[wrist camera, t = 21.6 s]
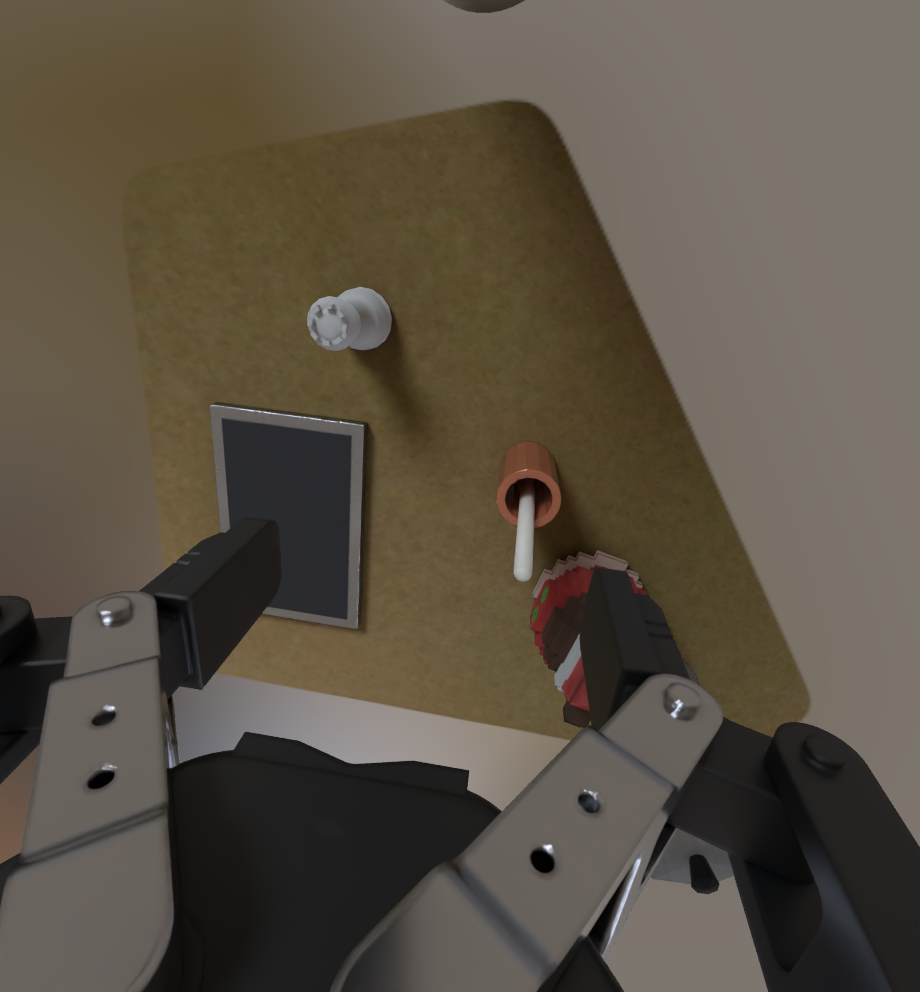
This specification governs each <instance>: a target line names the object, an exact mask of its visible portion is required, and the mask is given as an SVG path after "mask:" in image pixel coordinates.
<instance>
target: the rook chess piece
mask: <svg viewBox="0 0 920 992" xmlns="http://www.w3.org/2000/svg"><path fill="white" fill-rule="evenodd" d="M391 322H392V317H391V313H390V309H389V306H388V304H387V303H386V302H385V300H384V299H383V297H382V296H381V295H379V294H378V293H376V292H375V291H373V290H372V289H368V288H362V287H358V288H354V289H350V290H347V291H345V292H343V293H342V294H341V295H340V296H339V297H338V298H336V297H331V296H328V297H324V298H321V299H319V300H318V301H316V302H315V303H314V304H313V305H312V307H311V309H310V311H309V313H308V320H307V326H308V328H309V331H310V335H311V336H312V337H313V339H314V340H315V341H316V343H317V344H319V345H320V346H322V347H323V348H325V349H327V350H333V351H338V350H342V349H345V348H346V347H348V346H349V347H350V348H353V349H358V350H368V349H372V348H376V347H378V346H379V345H380V344H382V343H383V342H384V341H385V340H386V338H387V336H388V334H389V333H390V331H391Z"/></svg>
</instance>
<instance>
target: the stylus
mask: <svg viewBox="0 0 920 992" xmlns="http://www.w3.org/2000/svg"><path fill="white" fill-rule="evenodd" d="M535 485H536V479H535V478H523V479H521V489H520V501H519V514H518V526H517V538H516V551H515V563H514V575H515V577H516V579H517V580H519V581H527V580H529V579H530V578H531V576H532V567H533V539H534V512H535Z"/></svg>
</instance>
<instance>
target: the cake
mask: <svg viewBox="0 0 920 992" xmlns="http://www.w3.org/2000/svg"><path fill="white" fill-rule="evenodd" d="M627 566H628V563H627V561H625V560H623V559H620V558H617V557H614V556H612V555H609V554H606V553H604V552H601V551H598V550H597V551H596V553H595V555H594V557H593V556H591V555H588V554H585V553H582V552H580V551H579V552H578V554H577V556H576V558H575V557H573V556H570V555H568V557H567V559H566V561H563V560H560V559H557V561H556V564H555V566H554V568H553V570H552V571H550V570H547V569H544V571H543V573H542V575H541V577H540V579H539V581H538V583H537V585H536V587H535V589H534V591H533V597H534V598H537V599H536V601H535V603H534V605H533V609H532V614H531V616H530V629H532V631H535V645H536V646H538V647H539V649H540V655H543V659H544V663H545V664H548V669H551V670H554V671H556V674H555V685H556V686H557V689H558V690H559V691H562V692H564V696H565V697H566V704H565V705H564V707H563V715H564V722H567V723H570V724H572V725H575V726H578V727H583V728H585V727H586V726H587V725H588V724H589V722H590V720H591V717H590V711H589V704H588V697H587V690H586V684H585V677H584V670H583V663H582V657H581V650H580V625H581V619H582V614H583V610H584V606H585V602H586V597H587V593H588V589H589V584H590V580H591V576H592V573H593V570H594V568H595V567H600V568H607V569H614V570H621V571H626V572H627V573H628V575H629V578H630V581H631V584H632V587H633V590H634V593H639V594H645V595H647V594H646V591H645V590H644V589H642V587H643V584H642V582H641V581H638V579H639V574H638V573H637V572H634V571H631V570H629V569H626V568H627Z"/></svg>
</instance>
